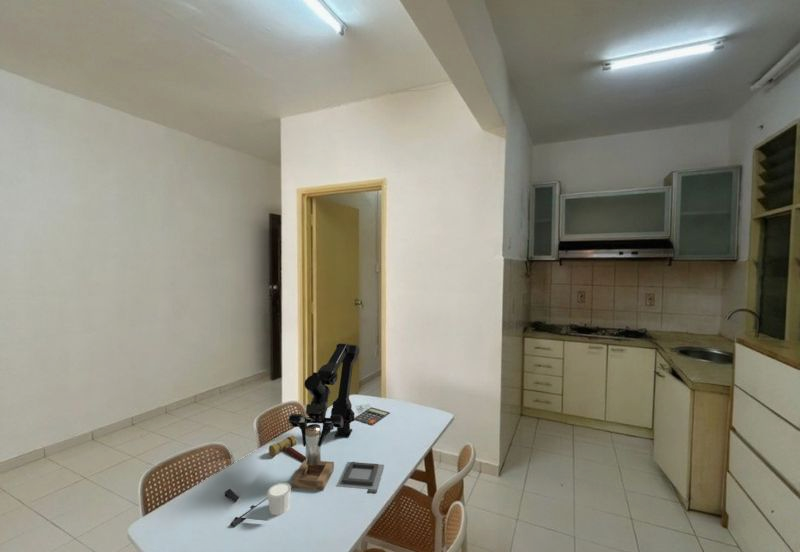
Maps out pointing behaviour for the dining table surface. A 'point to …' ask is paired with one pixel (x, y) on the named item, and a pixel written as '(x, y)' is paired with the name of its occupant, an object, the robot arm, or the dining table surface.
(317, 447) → the gold-topped cylinder
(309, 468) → the socket block
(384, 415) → the calculator
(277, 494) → the white cylinder
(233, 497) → the bracket
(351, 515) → the dining table surface
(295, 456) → the gavel
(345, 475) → the tray
